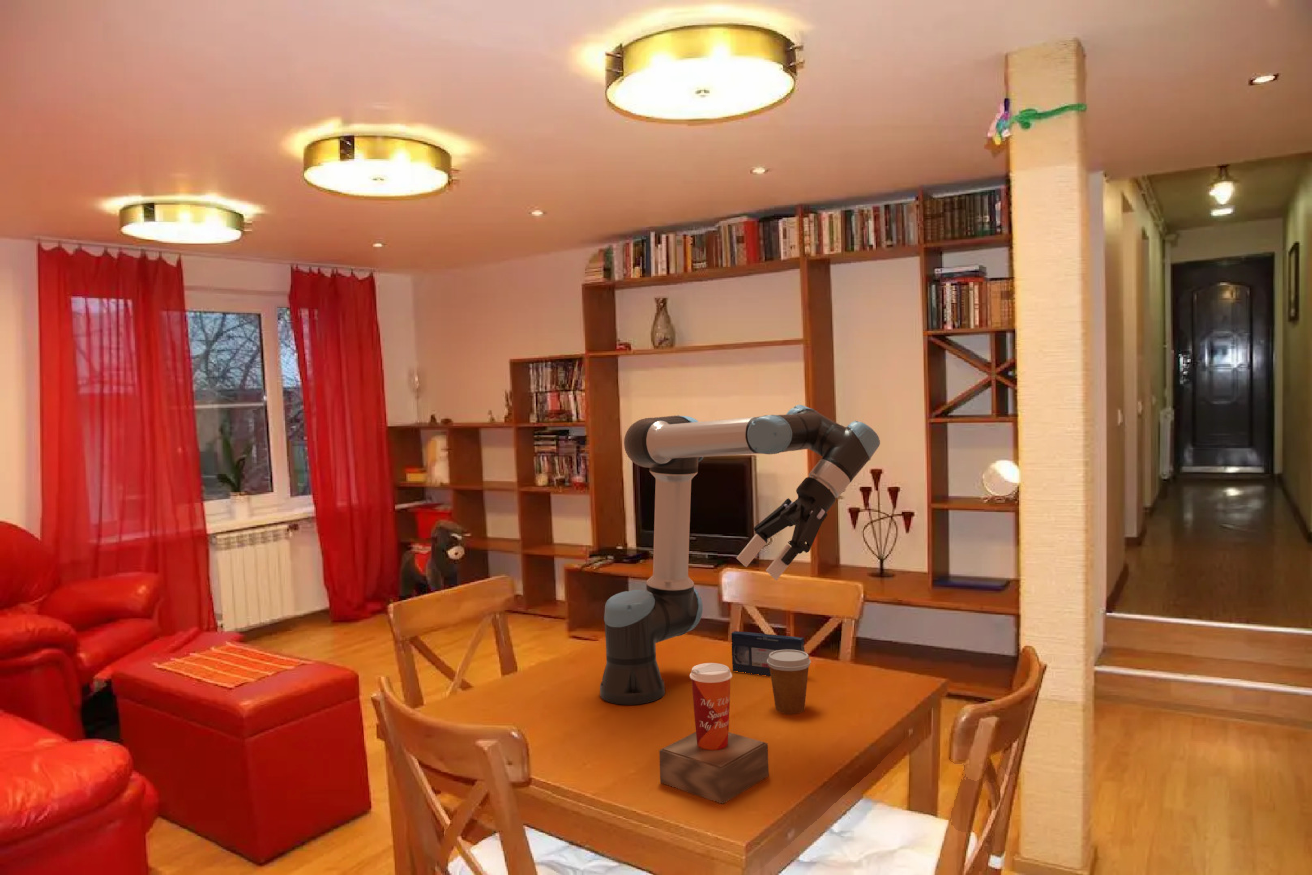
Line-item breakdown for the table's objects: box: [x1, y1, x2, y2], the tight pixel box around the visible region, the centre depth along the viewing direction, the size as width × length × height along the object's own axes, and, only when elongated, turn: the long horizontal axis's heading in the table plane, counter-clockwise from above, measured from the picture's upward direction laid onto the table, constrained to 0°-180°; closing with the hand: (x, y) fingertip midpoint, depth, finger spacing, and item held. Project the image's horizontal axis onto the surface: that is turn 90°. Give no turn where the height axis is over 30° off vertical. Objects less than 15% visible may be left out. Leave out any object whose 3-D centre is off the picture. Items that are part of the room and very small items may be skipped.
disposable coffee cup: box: [767, 650, 812, 715], centre depth 195 cm, size 10×10×12 cm
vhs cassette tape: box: [731, 630, 806, 677], centre depth 219 cm, size 18×3×10 cm, turn 61°
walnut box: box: [658, 731, 769, 805], centre depth 161 cm, size 14×14×6 cm
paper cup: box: [689, 662, 733, 750], centre depth 161 cm, size 8×8×14 cm
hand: (755, 568), depth 174 cm, fingers open, 13 cm apart
